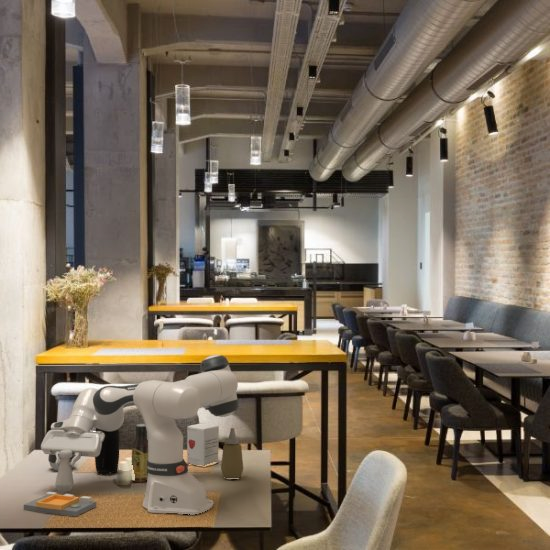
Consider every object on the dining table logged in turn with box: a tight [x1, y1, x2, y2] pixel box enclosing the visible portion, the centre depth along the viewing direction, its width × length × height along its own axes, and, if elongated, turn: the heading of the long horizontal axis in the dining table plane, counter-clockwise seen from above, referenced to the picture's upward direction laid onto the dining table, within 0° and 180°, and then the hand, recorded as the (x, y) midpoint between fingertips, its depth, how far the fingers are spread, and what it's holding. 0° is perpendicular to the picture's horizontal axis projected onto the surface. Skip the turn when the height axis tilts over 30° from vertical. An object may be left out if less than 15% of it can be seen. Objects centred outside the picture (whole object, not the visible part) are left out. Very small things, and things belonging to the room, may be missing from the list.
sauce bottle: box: [131, 423, 148, 483], centre depth 270 cm, size 7×6×20 cm
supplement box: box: [186, 422, 220, 466], centre depth 295 cm, size 9×9×15 cm
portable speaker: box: [94, 428, 120, 476], centre depth 281 cm, size 9×9×20 cm
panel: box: [23, 491, 97, 518], centre depth 237 cm, size 19×11×3 cm, turn 70°
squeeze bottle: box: [220, 427, 244, 478], centre depth 274 cm, size 8×8×18 cm
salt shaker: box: [55, 450, 74, 493], centre depth 251 cm, size 6×6×13 cm
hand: (64, 465), depth 250 cm, fingers closed on salt shaker, 3 cm apart
